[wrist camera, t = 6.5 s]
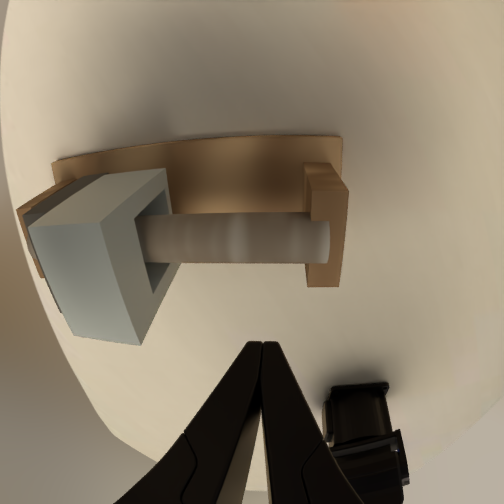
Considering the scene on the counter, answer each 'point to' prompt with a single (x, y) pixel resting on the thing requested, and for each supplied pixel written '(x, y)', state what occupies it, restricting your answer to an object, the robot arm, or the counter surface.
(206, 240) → the wooden rail stand
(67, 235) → the sleeve
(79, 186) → the collar
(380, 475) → the robot arm
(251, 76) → the counter surface
